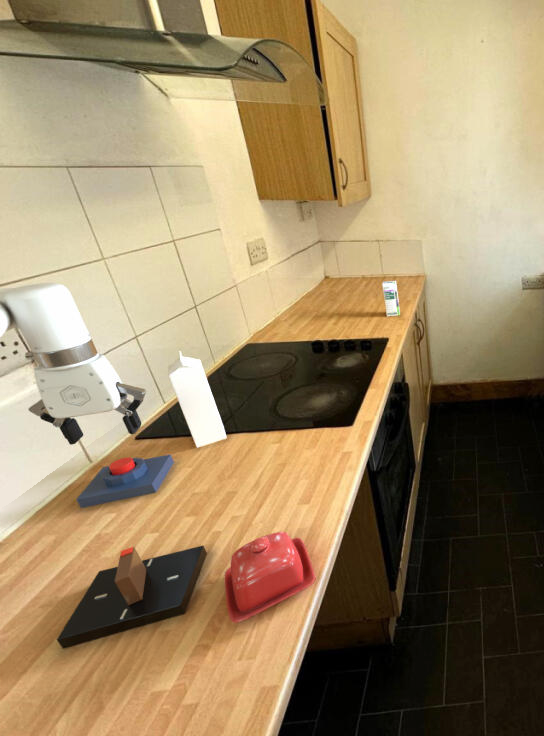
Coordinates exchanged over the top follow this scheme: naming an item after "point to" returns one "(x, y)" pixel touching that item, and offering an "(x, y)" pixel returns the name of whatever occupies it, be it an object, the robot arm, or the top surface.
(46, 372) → the robot arm
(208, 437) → the milk
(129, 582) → the dial knob
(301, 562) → the butter dish
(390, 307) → the syrup box
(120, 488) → the button box
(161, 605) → the panel
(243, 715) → the top surface
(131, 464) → the button
